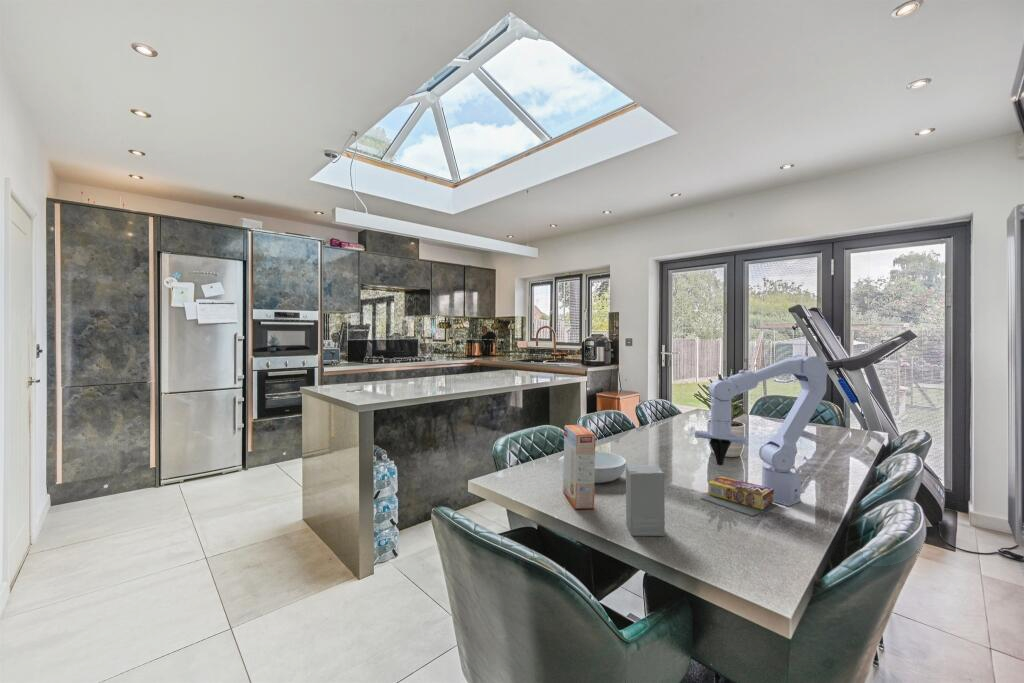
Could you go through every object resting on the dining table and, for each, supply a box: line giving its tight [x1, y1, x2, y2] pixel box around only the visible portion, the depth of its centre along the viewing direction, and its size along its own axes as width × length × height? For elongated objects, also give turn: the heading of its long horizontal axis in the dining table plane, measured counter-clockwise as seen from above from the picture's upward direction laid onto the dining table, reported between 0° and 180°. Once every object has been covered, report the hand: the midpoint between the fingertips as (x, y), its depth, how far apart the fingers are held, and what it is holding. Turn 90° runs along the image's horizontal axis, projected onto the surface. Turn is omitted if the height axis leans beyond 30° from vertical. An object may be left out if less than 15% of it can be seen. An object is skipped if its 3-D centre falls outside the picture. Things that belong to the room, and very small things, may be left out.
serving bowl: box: [562, 450, 627, 484], centre depth 146 cm, size 21×21×7 cm
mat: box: [700, 495, 779, 517], centre depth 126 cm, size 15×14×1 cm
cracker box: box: [562, 424, 596, 510], centre depth 126 cm, size 14×6×21 cm, turn 7°
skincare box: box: [625, 464, 666, 537], centre depth 106 cm, size 8×7×16 cm
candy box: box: [707, 476, 775, 510], centre depth 128 cm, size 9×4×15 cm
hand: (720, 464), depth 132 cm, fingers closed
